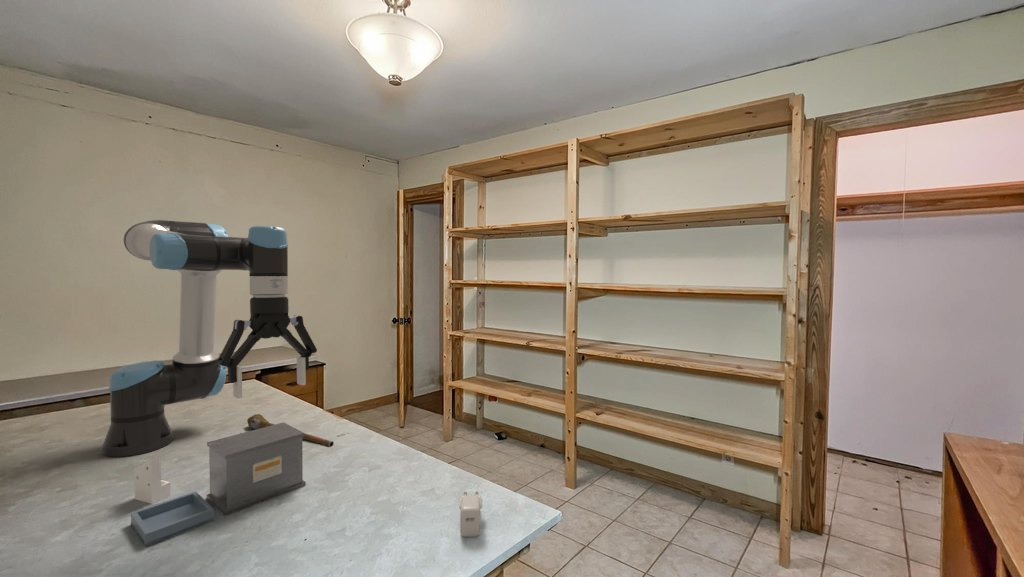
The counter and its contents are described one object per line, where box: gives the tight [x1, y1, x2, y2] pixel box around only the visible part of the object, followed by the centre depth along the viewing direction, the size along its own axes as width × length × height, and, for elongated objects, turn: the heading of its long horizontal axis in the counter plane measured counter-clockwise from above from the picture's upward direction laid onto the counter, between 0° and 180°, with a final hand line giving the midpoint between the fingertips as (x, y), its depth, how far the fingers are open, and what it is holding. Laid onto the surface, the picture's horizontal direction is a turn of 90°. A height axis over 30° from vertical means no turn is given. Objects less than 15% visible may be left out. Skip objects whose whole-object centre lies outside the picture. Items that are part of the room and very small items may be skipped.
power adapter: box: [458, 491, 483, 538], centre depth 91 cm, size 11×5×6 cm, turn 4°
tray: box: [130, 491, 215, 547], centre depth 89 cm, size 11×11×2 cm
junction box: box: [206, 422, 307, 517], centre depth 101 cm, size 11×17×13 cm, turn 142°
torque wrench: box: [247, 413, 334, 447], centre depth 134 cm, size 5×35×5 cm
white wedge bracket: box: [133, 455, 171, 505], centre depth 98 cm, size 4×10×9 cm, turn 71°
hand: (271, 390), depth 98 cm, fingers open, 13 cm apart
